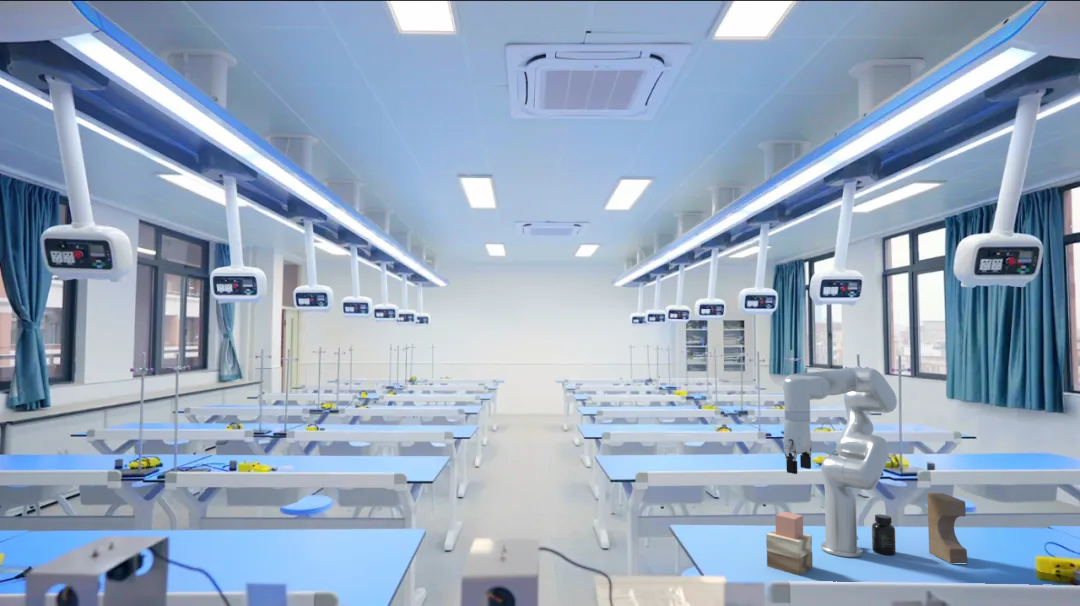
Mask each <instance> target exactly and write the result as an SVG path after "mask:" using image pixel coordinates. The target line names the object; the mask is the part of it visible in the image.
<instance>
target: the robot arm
mask: <svg viewBox="0 0 1080 606" xmlns="http://www.w3.org/2000/svg"><path fill="white" fill-rule="evenodd" d="M786 376H787V375H786ZM782 389H783V396H784V397H783V398H784V400H783V402H784V404H783V405H784V421H785V422H784V429H783V452H784V456H785V460H786V461H785V462H786V464H785V465H786V473H788V474H792V475H797V474H798V460H797V457H798V455H800V456H799V461H800V468H801V469H807V470H810V469H812V457H811V456H812V452H811V451H812V449H813V448H812V445H813V440H812V435H811V427H810V426H811V425H810V423H811V400H823V399H825V398H827V397H828V396H839V395H843V394H844V395H843V402H844V406H845V411H846V416H847V422H846V425H845V426H844V428H843V431H842V432H841V435H840V437H839V439H838V440H837V444H836V452H837V453H838V455H829V456H826V457H825V458H824V459H823V460H822V462H821V465H820V466H821V470H820V471H821V474H822V475H821V476H822V479H823V485H824V505H825V506H824V514H825V515H824V516H825V517H824V518H825V525H824V526H825V541H824V542H821V544H820V549H821V550H822V551H824V552H825V553H828V554H830V555H833V556H834V555H835V556H837V557H838V556H839V557H845V558H855V557H856V558H857V557H861V556H862V555H863V549H862V548H861V547H858V540H859V537H858V533H857V529H858V528H857V527H858V526H857V498H856V495H855V493H854V491H853V490H852V488H853V489H854V488H855V489H859V490H864V491H871V490H873V489H875V488H876V487H877V485H878V483H879V482H880V479H881V477H882V474H883V472H884V469H885V467H886V465H887V462H888V460H889V454H890V448H889V444H888V442H887V440H886V439H885V438H883V437H882V436H879V435H875V434H873V432H874V424H873V422H872V421H871V419H870V418H869V417H868V416H867V414H866V412H873V413H884V414H886V413H891V412H893V411H894V410H895V409H896V408H897V405H898V400H897V395H896V393H895V392H894V390H893V388H892V387H891V385H890V383H888V380H886V378H885V376H883V374H882V373H881V372H880V371H878V370H877V369H875V368H869V367H867V368H866V367H843V368H837V369H832V370H831V369H830V370H820V371H813V372H811V371H810V372H799V373H793V374H790V375H789V374H788V376H787V377H785V378H784V380H783V382H782Z"/></svg>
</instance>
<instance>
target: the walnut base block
mask: <svg viewBox="0 0 1080 606" xmlns="http://www.w3.org/2000/svg"><path fill="white" fill-rule="evenodd" d="M813 565H814V564H813V551H812V552H810V553H809V554H807V555H805V556H803V557H802V558H800V559H796V558H792V557H788V556H785V555H781V554H777V553H774V552H770V551H767V550H766V567H767V568H772V569H775V570H779V571H782V572H786V573H789V574H792V575H796V576H801V575H803V574H804V573H806V572H808V571H809V570H811V569H813V567H814V566H813Z"/></svg>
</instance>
